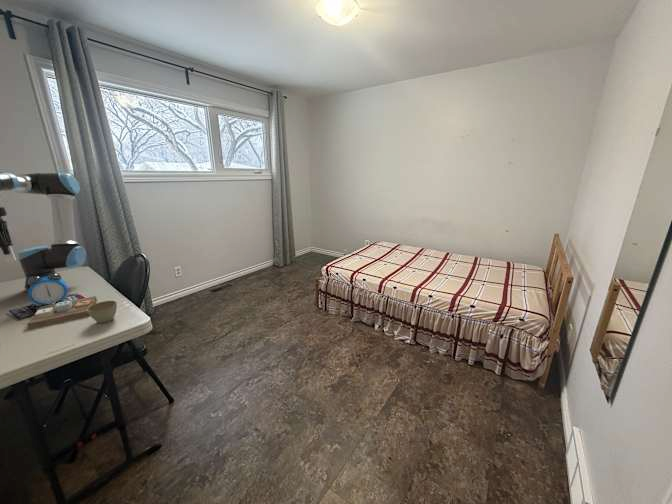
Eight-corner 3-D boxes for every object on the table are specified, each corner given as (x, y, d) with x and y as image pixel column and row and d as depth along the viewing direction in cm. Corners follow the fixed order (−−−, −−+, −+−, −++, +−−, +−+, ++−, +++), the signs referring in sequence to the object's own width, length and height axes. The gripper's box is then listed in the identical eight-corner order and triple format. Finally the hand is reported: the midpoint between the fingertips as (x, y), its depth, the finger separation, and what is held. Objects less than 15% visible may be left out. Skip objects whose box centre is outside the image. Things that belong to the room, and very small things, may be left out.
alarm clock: (33, 309, 128) (22, 280, 124) (34, 304, 133) (24, 276, 128) (70, 300, 137) (61, 273, 132) (71, 296, 141) (62, 270, 137)
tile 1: (40, 315, 122) (38, 309, 121) (54, 312, 124) (52, 306, 123) (37, 320, 118) (34, 313, 117) (51, 316, 121) (49, 310, 120)
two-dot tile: (59, 308, 125) (57, 302, 124) (72, 305, 127) (70, 299, 126) (56, 312, 121) (54, 306, 120) (70, 309, 124) (68, 303, 123)
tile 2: (79, 307, 129) (77, 301, 128) (92, 305, 131) (90, 299, 130) (77, 311, 125) (75, 305, 124) (90, 308, 128) (88, 302, 127)
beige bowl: (96, 317, 121) (92, 303, 119) (123, 312, 125) (119, 298, 123) (86, 328, 112) (82, 313, 110) (116, 323, 116) (112, 308, 114)
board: (41, 311, 127) (40, 306, 126) (97, 300, 137) (95, 295, 137) (28, 328, 112) (26, 323, 112) (91, 314, 123) (90, 310, 122)
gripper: (-18, 206, 114) (3, 258, 121) (-32, 210, 104) (-8, 266, 111) (8, 204, 118) (27, 255, 125) (-3, 208, 108) (19, 263, 115)
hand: (11, 260), depth 118 cm, fingers closed
